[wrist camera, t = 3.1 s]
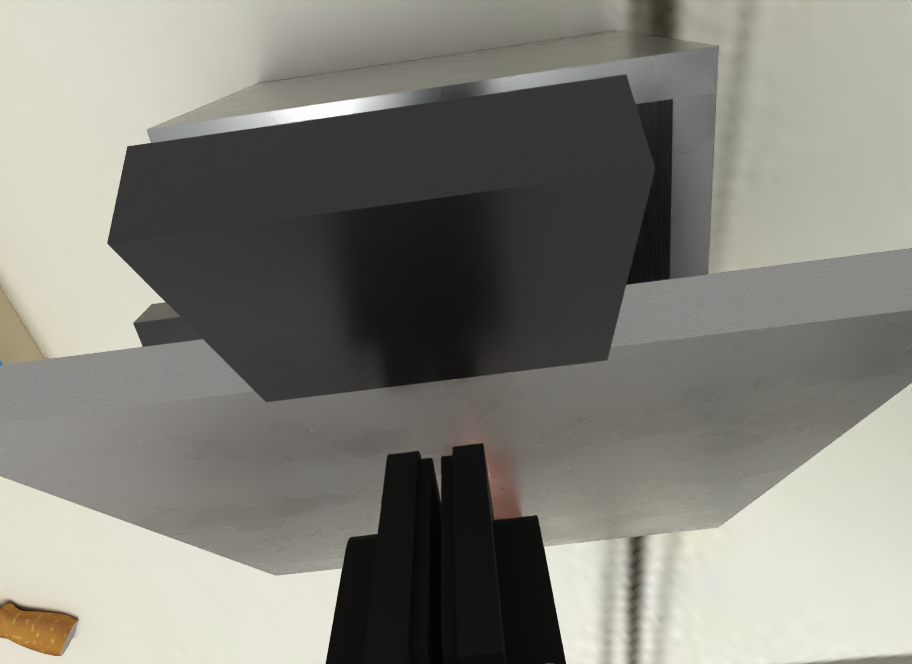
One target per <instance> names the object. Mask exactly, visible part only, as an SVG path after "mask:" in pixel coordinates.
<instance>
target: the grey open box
mask: <svg viewBox="0 0 912 664" xmlns="http://www.w3.org/2000/svg"><path fill="white" fill-rule="evenodd" d="M718 50H719V46H715V45H708V44H702V43H695V42H689V41H682V40H675V39H669V38H662V37H656V36H649V35H643V34H636V33H629V32H623V31H616V30H614V31H607V32H601V33H594V34H587V35H580V36H574V37H567V38H560V39H553V40H547V41H540V42H533V43H526V44H520V45H513V46H506V47H500V48H493V49H486V50H479V51H473V52H466V53H459V54H452V55H446V56H439V57H432V58H425V59H419V60H412V61H405V62H398V63H392V64H385V65H378V66H372V67H365V68H358V69H351V70H345V71H338V72H331V73H324V74H318V75H311V76H304V77H297V78H291V79H284V80H277V81H271V82H264V83H258V84H255V85H253V86H251V87H248V88H246V89H243V90H241V91H238V92H236V93H234V94H231V95H229V96H226V97H224V98H222V99H219V100H217V101H214V102H212V103H210V104H207V105H205V106H202V107H200V108H198V109H195V110H193V111H190V112H188V113H185V114H183V115H181V116H178V117H176V118H173V119H171V120H169V121H166V122H164V123H161V124H159V125H157V126H154V127H152V128H149V129H147V132H148V135H149V138H150V140H151V143H155V142H162V141H169V140H176V139H183V138H190V137H196V136H203V135H210V134H217V133H224V132H231V131H238V130H245V129H252V128H259V127H265V126H272V125H279V124H286V123H293V122H300V121H307V120H314V119H321V118H328V117H334V116H341V115H348V114H355V113H362V112H369V111H376V110H383V109H390V108H397V107H403V106H410V105H417V104H424V103H431V102H438V101H445V100H452V99H459V98H466V97H472V96H479V95H486V94H493V93H500V92H507V91H514V90H521V89H528V88H535V87H542V86H548V85H555V84H562V83H569V82H576V81H583V80H590V79H597V78H604V77H611V76H617V75H624V74H626V75H627V78H628V81H629V84H630V88H631V91H632V94H633V97H634V101H635V104H636V107H637V110H638V114H639V117H640V120H641V123H642V127H643V130H644V133H645V136H646V140H647V143H648V146H649V149H650V153H651V156H652V159H653V162H654V166H655V171H654V176H653V180H652V184H651V188H650V192H649V196H648V200H647V204H646V208H645V212H644V216H643V220H642V224H641V228H640V232H639V236H638V240H637V244H636V248H635V252H634V256H633V260H632V264H631V268H630V272H629V276H628V280H627V284H626V285H630V284H637V283H645V282H653V281H661V280H669V279H676V278H684V277H692V276H700V275H708V263H709V242H710V220H711V199H712V178H713V157H714V135H715V114H716V93H717V71H718ZM133 324H134V326H135V328H136V331H137V333H138V336H139V338H140V341H141V343H142V346H143V347H147V346H155V345H162V344H170V343H178V342H186V341H193V340H201V339H202V338H201V337H200V336H199V335H198V334H197V333H196V332H195V331H194V330H193V329H192V328H191V327H190V326H189V325H188V324H187V323H186V322H185V321H184V320H183V319H182V318H181V317H180V316H179V315H178V314H177V313H176V312H175V311H174V310H173V309H172V308H171V307H170V306H169V305H168V304H167V303H166V302H165V303H158V304H152V305H151V306H150V307H149V308H148V309H147V310H146V311H145V312H144V313H143V314H142V315H141V316H140V317H139V318H138V319H137V320H136V321H135V322H134V323H133Z"/></svg>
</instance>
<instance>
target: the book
mask: <svg viewBox="0 0 912 664" xmlns="http://www.w3.org/2000/svg"><path fill="white" fill-rule="evenodd" d="M38 360H45V358H44V356H43V354H42V353H41V351H40V350H39V348H38V346H37V345H36V343H35V341H34V340H33V338H32V337H31V335H30V333H29V332H28V330H27V328H26V327H25V325H24V324H23V322H22V320H21V319H20V317H19V316H18V314H17V312H16V311H15V309H14V307H13V306H12V304H11V303H10V301H9V299H8V298H7V296H6V294H5V293H4V291H3V290H2V288H1V286H0V365H7V364H14V363H22V362H30V361H38Z"/></svg>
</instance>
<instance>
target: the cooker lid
mask: <svg viewBox="0 0 912 664" xmlns="http://www.w3.org/2000/svg"><path fill="white" fill-rule="evenodd" d="M654 171H655V166H654V162H653V159H652V156H651V153H650V149H649V146H648V143H647V140H646V136H645V133H644V130H643V127H642V123H641V120H640V117H639V114H638V110H637V107H636V104H635V101H634V97H633V94H632V91H631V88H630V84H629V81H628V78H627V75H626V74H624V75H617V76H611V77H604V78H597V79H590V80H583V81H576V82H569V83H562V84H555V85H548V86H542V87H535V88H528V89H521V90H514V91H507V92H500V93H493V94H486V95H479V96H472V97H466V98H459V99H452V100H445V101H438V102H431V103H424V104H417V105H410V106H403V107H397V108H390V109H383V110H376V111H369V112H362V113H355V114H348V115H341V116H334V117H328V118H321V119H314V120H307V121H300V122H293V123H286V124H279V125H272V126H265V127H259V128H252V129H245V130H238V131H231V132H224V133H217V134H210V135H203V136H196V137H190V138H183V139H176V140H169V141H162V142H155V143H148V144H141V145H134V146H127V151H126V156H125V161H124V165H123V170H122V175H121V180H120V185H119V190H118V194H117V199H116V204H115V209H114V214H113V218H112V223H111V228H110V233H109V238H108V243H107V244H108V245H109V246H110V247H111V248H112V249H113V250H114V251H115V252H116V253H117V254H118V255H119V256H120V257H121V258H122V259H123V260H124V261H125V262H126V263H127V264H128V265H129V266H130V267H131V268H132V269H133V270H134V271H135V272H136V273H137V274H138V275H139V276H140V277H141V278H142V279H143V280H144V281H145V282H146V283H147V284H148V285H149V286H150V287H151V288H152V289H153V290H154V291H155V292H156V293H157V294H158V295H159V296H160V297H161V298H162V299H163V300H164V301H165V302H166V303H167V304H168V305H169V306H170V307H171V308H172V309H173V310H174V311H175V312H176V313H177V314H178V315H179V316H180V317H181V318H182V319H183V320H184V321H185V322H186V323H187V324H188V325H189V326H190V327H191V328H192V329H193V330H194V331H195V332H196V333H197V334H198V335H199V336H200V337H201V338H202V339H201V340H193V341H186V342H178V343H170V344H162V345H155V346H147V347H139V348H131V349H123V350H116V351H108V352H100V353H92V354H84V355H77V356H69V357H61V358H53V359H45V360H38V361H30V362H22V363H14V364H7V365H0V476H1V477H4V478H7V479H10V480H12V481H15V482H18V483H21V484H24V485H26V486H29V487H32V488H35V489H37V490H40V491H43V492H46V493H48V494H51V495H54V496H57V497H60V498H62V499H65V500H68V501H71V502H73V503H76V504H79V505H82V506H84V507H87V508H90V509H93V510H96V511H98V512H101V513H104V514H107V515H109V516H112V517H115V518H118V519H120V520H123V521H126V522H129V523H132V524H134V525H137V526H140V527H143V528H145V529H148V530H151V531H154V532H157V533H159V534H162V535H165V536H168V537H170V538H173V539H176V540H179V541H181V542H184V543H187V544H190V545H193V546H195V547H198V548H201V549H204V550H206V551H209V552H212V553H215V554H217V555H220V556H223V557H226V558H229V559H231V560H234V561H237V562H240V563H242V564H245V565H248V566H251V567H253V568H256V569H259V570H262V571H265V572H267V573H270V574H273V575H285V574H295V573H304V572H313V571H322V570H331V569H341V568H342V567H343V562H344V556H345V550H346V546H347V542H348V540H349V538H350V537H355V536H363V535H372V534H378V526H379V518H380V510H381V501H382V493H383V484H384V476H385V467H386V459H387V456H388V454H396V453H404V452H413V451H419V452H420V454H421V458H422V459H425V458H432V459H433V463H434V468H435V473H436V478H437V483H438V489H439V494H440V499H441V457H442V456H449V455H452V448H453V446H461V445H470V444H478V443H483V444H484V450H485V457H486V464H487V471H488V478H489V485H490V492H491V499H492V506H493V513H494V520H499V519H508V518H516V517H525V516H533V515H537V516H538V519H539V524H540V529H541V534H542V540H543V545H544V546H552V545H562V544H571V543H580V542H589V541H599V540H608V539H617V538H626V537H635V536H645V535H654V534H663V533H672V532H681V531H691V530H700V529H709V528H718V527H720V526H721V525H722V524H724V523H725V522H726V521H728V520H729V519H730V518H732V517H733V516H734V515H736V514H737V513H738V512H740V511H741V510H742V509H744V508H745V507H746V506H748V505H749V504H750V503H752V502H753V501H754V500H756V499H757V498H758V497H760V496H761V495H762V494H764V493H765V492H766V491H768V490H769V489H770V488H772V487H773V486H774V485H776V484H777V483H778V482H780V481H781V480H782V479H784V478H785V477H786V476H788V475H789V474H790V473H792V472H793V471H795V470H796V469H797V468H799V467H800V466H801V465H803V464H804V463H805V462H807V461H808V460H809V459H811V458H812V457H813V456H815V455H816V454H817V453H819V452H820V451H821V450H823V449H824V448H825V447H827V446H828V445H829V444H831V443H832V442H833V441H835V440H836V439H837V438H839V437H840V436H841V435H843V434H844V433H845V432H847V431H848V430H849V429H851V428H852V427H853V426H855V425H856V424H857V423H859V422H860V421H861V420H863V419H864V418H865V417H867V416H868V415H869V414H871V413H872V412H873V411H875V410H876V409H877V408H879V407H880V406H881V405H883V404H884V403H885V402H887V401H888V400H889V399H891V398H892V397H893V396H895V395H896V394H897V393H899V392H900V391H901V390H903V389H904V388H905V387H907V386H908V385H909V384H911V383H912V248H910V249H902V250H895V251H887V252H879V253H871V254H863V255H856V256H848V257H840V258H832V259H824V260H817V261H809V262H801V263H793V264H785V265H778V266H770V267H762V268H754V269H747V270H739V271H731V272H723V273H715V274H708V275H700V276H692V277H684V278H676V279H669V280H661V281H653V282H645V283H637V284H630V285H626V284H627V280H628V276H629V272H630V268H631V264H632V260H633V256H634V252H635V248H636V244H637V240H638V236H639V232H640V228H641V224H642V220H643V216H644V212H645V208H646V204H647V200H648V196H649V192H650V188H651V184H652V180H653V176H654Z"/></svg>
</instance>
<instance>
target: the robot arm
mask: <svg viewBox="0 0 912 664" xmlns="http://www.w3.org/2000/svg"><path fill="white" fill-rule="evenodd" d="M326 664H566V661H565V655H564V650H563V645H562V640H561V634H560V629H559V624H558V619H557V613H556V608H555V603H554V598H553V592H552V587H551V582H550V576H549V571H548V566H547V561H546V555H545V550H544V545H543V540H542V534H541V529H540V524H539V519H538V516H537V515H533V516H525V517H516V518H508V519H499V520H494V513H493V506H492V499H491V492H490V485H489V478H488V471H487V464H486V457H485V450H484V444H483V443H478V444H470V445H461V446H453V448H452V455H449V456H442V457H441V499H440V494H439V489H438V483H437V478H436V473H435V468H434V463H433V459H432V458H425V459H422V458H421V454H420V452H419V451H413V452H404V453H396V454H388V456H387V459H386V467H385V476H384V484H383V493H382V501H381V510H380V518H379V526H378V534H372V535H363V536H355V537H350V538H349V540H348V542H347V546H346V550H345V556H344V562H343V567H342V573H341V579H340V584H339V590H338V596H337V602H336V607H335V613H334V619H333V625H332V630H331V636H330V642H329V648H328V653H327V659H326Z"/></svg>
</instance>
